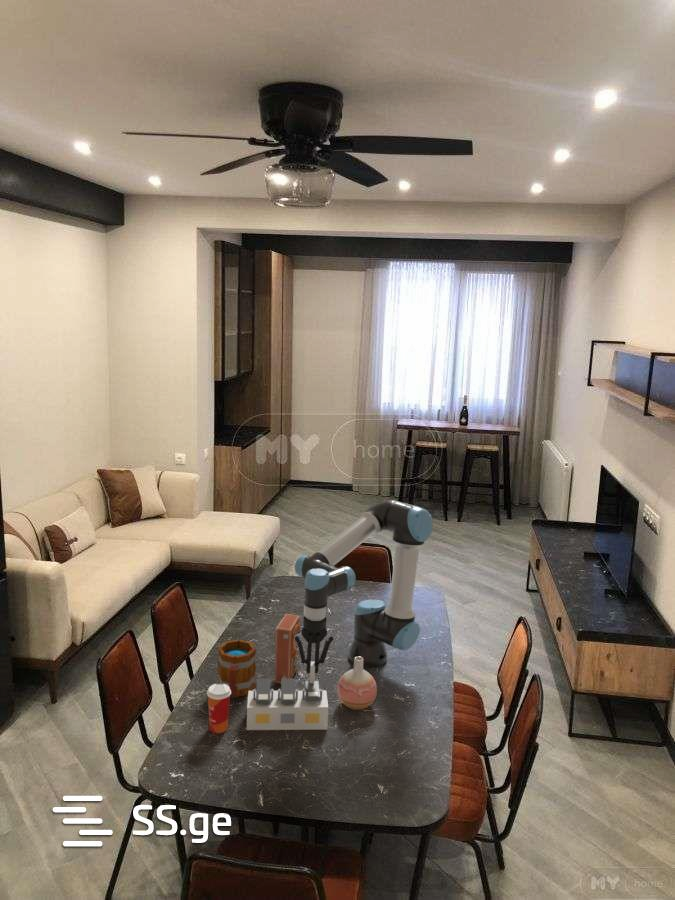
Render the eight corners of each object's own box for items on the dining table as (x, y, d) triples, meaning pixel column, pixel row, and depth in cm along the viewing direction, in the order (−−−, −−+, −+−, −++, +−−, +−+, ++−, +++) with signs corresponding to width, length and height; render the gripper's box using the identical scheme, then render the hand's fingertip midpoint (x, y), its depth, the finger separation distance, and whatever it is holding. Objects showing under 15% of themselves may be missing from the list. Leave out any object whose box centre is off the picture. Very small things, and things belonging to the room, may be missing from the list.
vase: (348, 720, 234) (350, 672, 231) (329, 699, 246) (331, 653, 242) (383, 711, 241) (386, 663, 237) (363, 691, 252) (366, 645, 249)
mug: (220, 676, 258) (220, 638, 255) (257, 677, 258) (257, 639, 255) (211, 706, 239) (212, 666, 236) (251, 707, 239) (252, 667, 236)
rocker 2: (295, 681, 235) (295, 677, 234) (295, 703, 227) (295, 699, 226) (280, 682, 234) (280, 678, 233) (280, 703, 227) (280, 699, 226)
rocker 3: (318, 685, 236) (319, 680, 235) (320, 701, 227) (320, 696, 227) (304, 685, 235) (304, 680, 235) (305, 701, 227) (305, 696, 226)
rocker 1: (271, 682, 234) (271, 678, 233) (270, 704, 226) (270, 699, 225) (256, 682, 234) (256, 678, 233) (255, 704, 226) (255, 699, 225)
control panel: (300, 666, 267) (289, 687, 253) (282, 664, 269) (271, 684, 254) (302, 614, 263) (291, 631, 248) (284, 611, 264) (272, 629, 250)
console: (325, 711, 238) (326, 681, 236) (327, 730, 228) (328, 698, 226) (248, 712, 236) (248, 681, 234) (246, 730, 226) (247, 699, 224)
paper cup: (207, 721, 230) (208, 682, 227) (231, 721, 231) (232, 682, 228) (205, 735, 222) (205, 695, 220) (229, 735, 223) (230, 695, 220)
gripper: (334, 611, 234) (330, 675, 239) (294, 610, 232) (291, 674, 238) (335, 621, 226) (332, 687, 232) (295, 621, 225) (292, 687, 230)
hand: (311, 681), depth 235 cm, fingers closed
